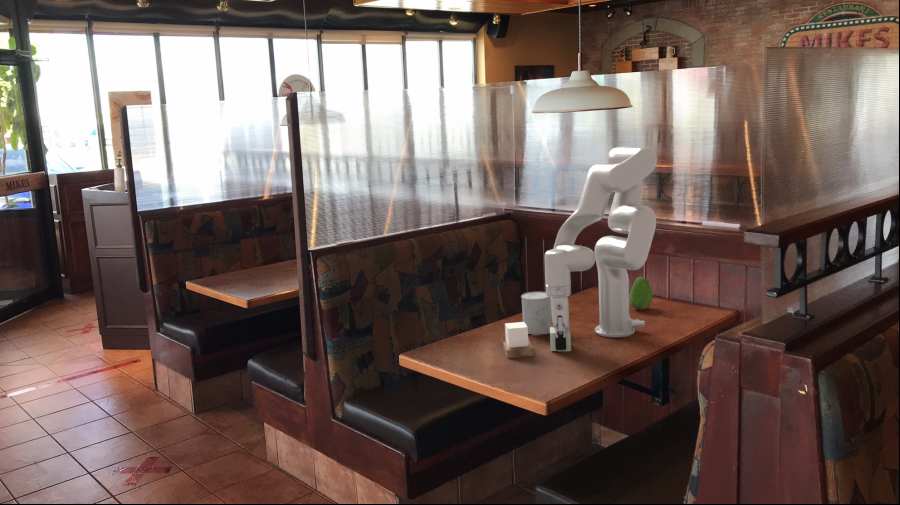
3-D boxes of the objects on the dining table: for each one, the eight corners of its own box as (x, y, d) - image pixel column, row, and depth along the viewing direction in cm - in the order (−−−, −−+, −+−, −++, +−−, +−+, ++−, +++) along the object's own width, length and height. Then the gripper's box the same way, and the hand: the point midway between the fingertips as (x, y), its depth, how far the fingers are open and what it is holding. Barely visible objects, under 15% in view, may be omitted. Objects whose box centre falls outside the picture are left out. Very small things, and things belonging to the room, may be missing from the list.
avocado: (648, 313, 254) (648, 280, 251) (626, 311, 258) (626, 278, 255) (655, 307, 260) (655, 274, 258) (634, 305, 264) (633, 273, 262)
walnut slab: (529, 348, 228) (528, 339, 227) (533, 357, 220) (533, 347, 219) (503, 350, 227) (503, 341, 227) (507, 359, 219) (506, 350, 219)
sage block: (569, 344, 227) (569, 326, 226) (570, 351, 221) (570, 332, 220) (550, 345, 228) (549, 327, 227) (551, 351, 222) (550, 333, 221)
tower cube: (524, 340, 226) (524, 321, 225) (528, 346, 221) (527, 327, 220) (505, 342, 226) (504, 323, 225) (509, 347, 220) (507, 328, 219)
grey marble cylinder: (555, 327, 245) (553, 292, 243) (546, 336, 237) (545, 299, 234) (528, 325, 249) (526, 291, 247) (519, 334, 241) (517, 298, 238)
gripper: (572, 296, 212) (574, 355, 216) (569, 282, 229) (571, 336, 233) (546, 297, 213) (548, 355, 217) (545, 283, 230) (547, 337, 233)
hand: (560, 345), depth 225 cm, fingers open, 6 cm apart
